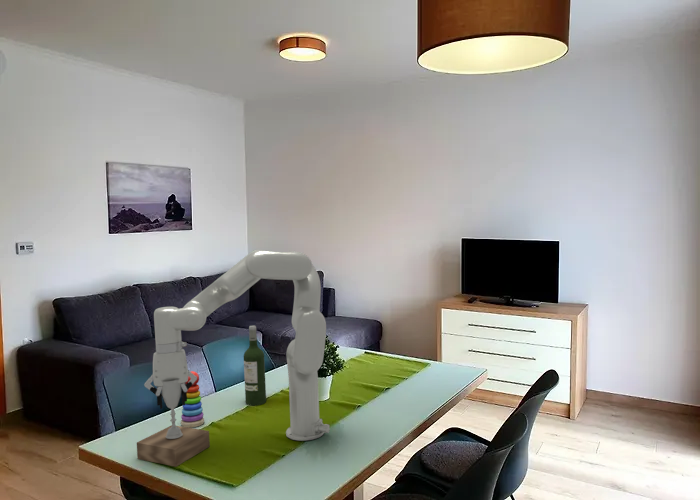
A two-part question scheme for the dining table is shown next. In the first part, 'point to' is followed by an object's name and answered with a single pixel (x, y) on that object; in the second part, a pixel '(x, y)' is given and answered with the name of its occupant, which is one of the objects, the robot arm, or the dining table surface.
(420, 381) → the dining table surface
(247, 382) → the wine bottle
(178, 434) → the chalice
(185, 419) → the stacking toy
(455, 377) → the dining table surface
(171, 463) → the plinth
